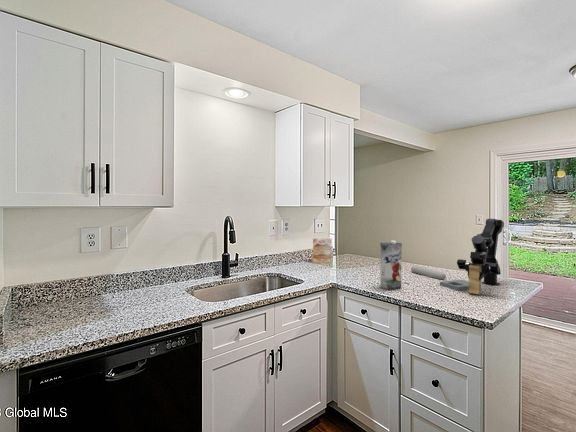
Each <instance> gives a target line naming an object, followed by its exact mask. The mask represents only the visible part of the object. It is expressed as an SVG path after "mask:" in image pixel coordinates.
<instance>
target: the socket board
mask: <svg viewBox="0 0 576 432" xmlns="http://www.w3.org/2000/svg"><path fill="white" fill-rule="evenodd" d="M439 286H442V287H444V288H447V289H451V290H453V291H456V292H461V291H469V280H465V279H454V280H442V281H439Z"/></svg>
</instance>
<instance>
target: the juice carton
mask: <svg viewBox="0 0 576 432" xmlns="http://www.w3.org/2000/svg"><path fill="white" fill-rule="evenodd" d="M379 245H380V246H379V247H380V248H379V249H380V250H379V251H380V253H379V254H380V255H379V256H380V262H379V263H380V264H379V265H380V266H379V267H380V271H379V273H380V275H379V276H380V278H379V280H380V282H379V283H380V288H382V289H385V290H388V291H391V290H399V289H401V288H402V249H403V248H402V247H403V246H402V245H403V244H402V243H401V242H397V241H396V240H390V241H389V242H388V241H387V242H380V244H379Z"/></svg>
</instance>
